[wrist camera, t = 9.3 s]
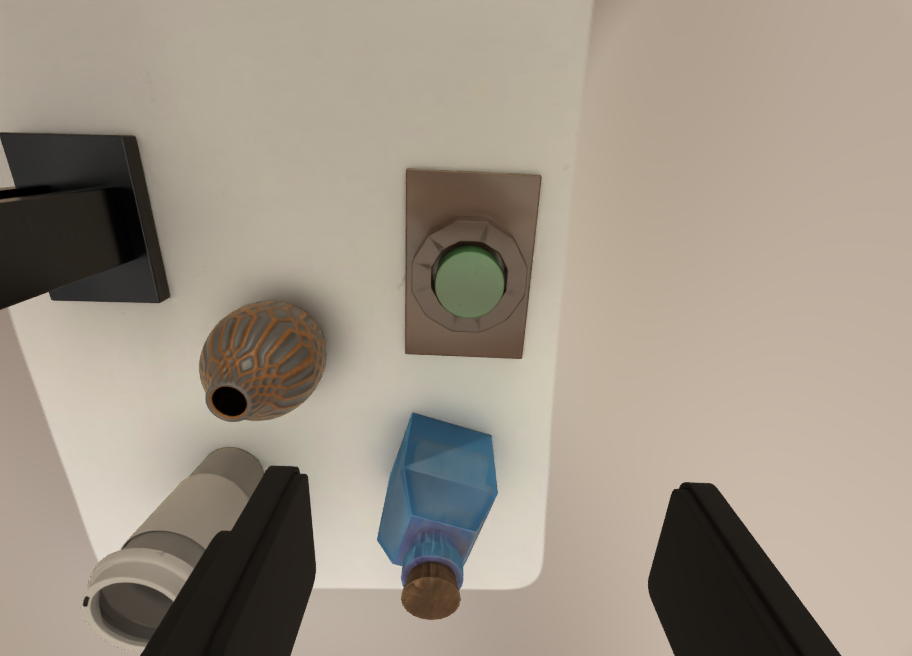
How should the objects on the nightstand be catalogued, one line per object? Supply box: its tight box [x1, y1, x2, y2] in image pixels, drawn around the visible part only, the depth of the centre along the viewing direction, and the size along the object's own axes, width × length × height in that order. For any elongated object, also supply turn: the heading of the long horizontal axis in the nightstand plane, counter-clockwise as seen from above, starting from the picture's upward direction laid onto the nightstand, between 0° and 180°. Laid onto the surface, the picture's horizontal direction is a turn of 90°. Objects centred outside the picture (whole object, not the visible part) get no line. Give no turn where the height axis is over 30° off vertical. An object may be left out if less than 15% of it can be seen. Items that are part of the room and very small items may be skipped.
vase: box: [199, 301, 326, 422], centre depth 28 cm, size 7×7×9 cm
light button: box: [435, 245, 504, 318], centre depth 28 cm, size 4×4×2 cm
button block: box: [405, 169, 542, 359], centre depth 29 cm, size 12×8×2 cm, turn 177°
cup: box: [81, 448, 264, 653], centre depth 31 cm, size 7×7×12 cm
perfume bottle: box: [377, 413, 498, 620], centre depth 30 cm, size 6×6×12 cm
